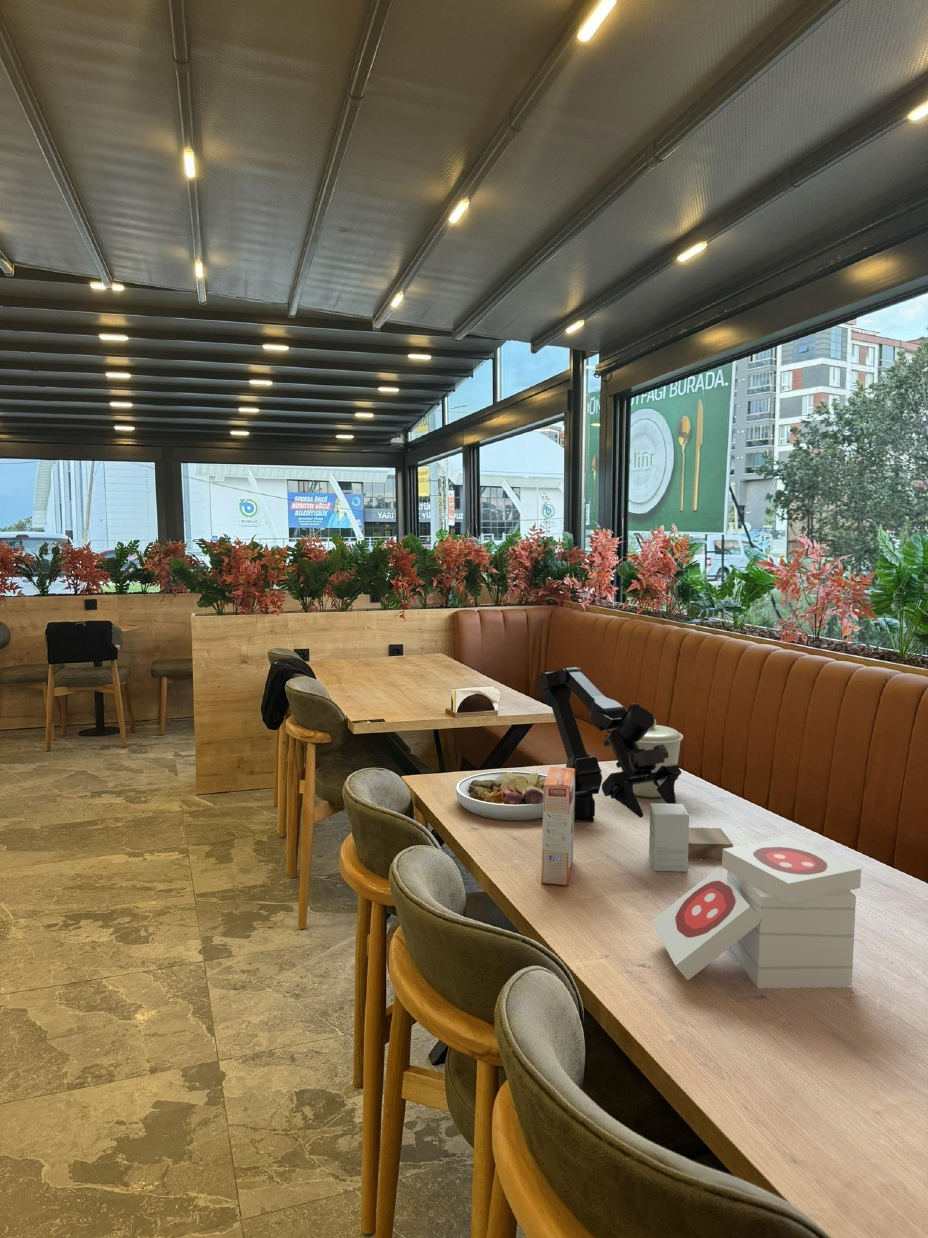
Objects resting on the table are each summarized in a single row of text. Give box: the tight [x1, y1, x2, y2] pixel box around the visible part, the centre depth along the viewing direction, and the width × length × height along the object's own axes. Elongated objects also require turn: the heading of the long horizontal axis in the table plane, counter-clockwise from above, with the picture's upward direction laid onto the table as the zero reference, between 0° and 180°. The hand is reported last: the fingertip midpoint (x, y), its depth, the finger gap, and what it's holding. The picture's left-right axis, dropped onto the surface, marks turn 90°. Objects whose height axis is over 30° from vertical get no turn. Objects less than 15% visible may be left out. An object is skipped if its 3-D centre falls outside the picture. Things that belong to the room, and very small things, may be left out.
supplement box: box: [648, 802, 690, 873], centre depth 174 cm, size 7×7×13 cm
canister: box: [620, 718, 684, 798], centre depth 224 cm, size 18×18×21 cm
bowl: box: [455, 770, 547, 821], centre depth 214 cm, size 30×30×8 cm
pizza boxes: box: [651, 836, 862, 989], centre depth 133 cm, size 19×30×18 cm, turn 91°
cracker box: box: [541, 766, 575, 887], centre depth 169 cm, size 14×6×21 cm, turn 168°
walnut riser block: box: [688, 827, 734, 861], centre depth 182 cm, size 10×10×4 cm
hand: (658, 813), depth 176 cm, fingers open, 9 cm apart
